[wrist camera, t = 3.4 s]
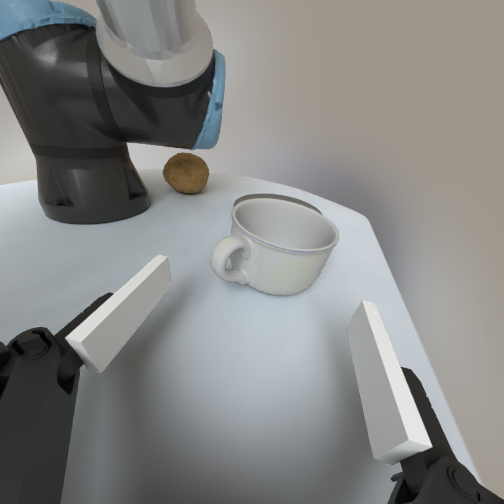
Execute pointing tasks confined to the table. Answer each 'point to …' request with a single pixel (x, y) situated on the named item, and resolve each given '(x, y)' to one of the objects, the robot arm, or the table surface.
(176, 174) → the potato
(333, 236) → the teacup
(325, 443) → the table surface
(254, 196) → the saucer
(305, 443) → the table surface
